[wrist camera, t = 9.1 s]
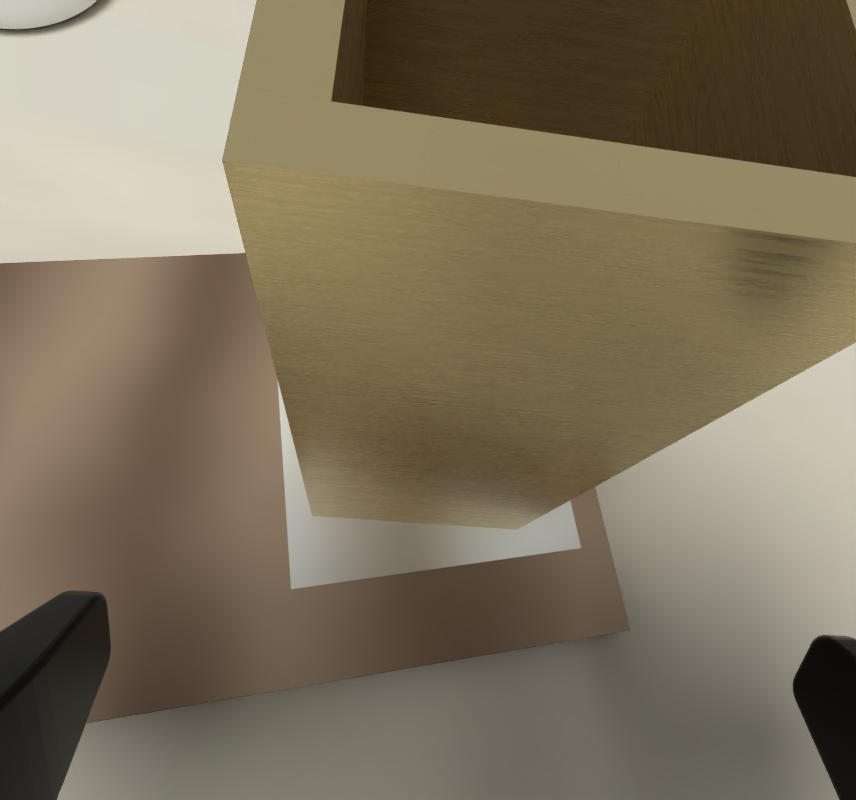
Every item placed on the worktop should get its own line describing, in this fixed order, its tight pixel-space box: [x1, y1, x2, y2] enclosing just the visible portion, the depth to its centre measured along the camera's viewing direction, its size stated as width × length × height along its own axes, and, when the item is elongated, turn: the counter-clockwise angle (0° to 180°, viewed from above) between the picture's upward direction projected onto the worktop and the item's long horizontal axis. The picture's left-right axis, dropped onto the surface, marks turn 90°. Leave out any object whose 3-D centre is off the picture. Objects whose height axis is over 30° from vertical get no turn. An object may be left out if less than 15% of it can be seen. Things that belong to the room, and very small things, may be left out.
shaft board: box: [0, 253, 629, 723], centre depth 14 cm, size 22×12×4 cm, turn 98°
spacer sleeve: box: [222, 0, 856, 530], centre depth 11 cm, size 5×5×12 cm
